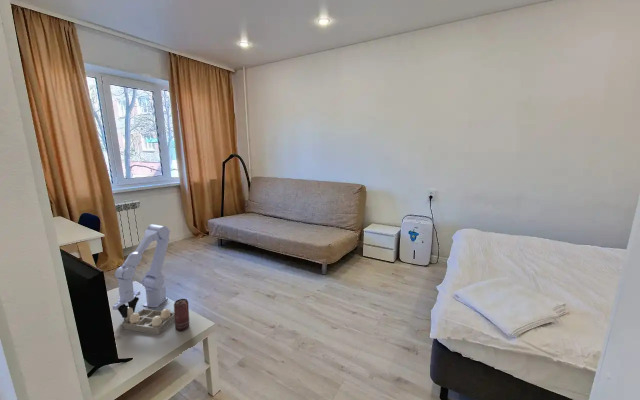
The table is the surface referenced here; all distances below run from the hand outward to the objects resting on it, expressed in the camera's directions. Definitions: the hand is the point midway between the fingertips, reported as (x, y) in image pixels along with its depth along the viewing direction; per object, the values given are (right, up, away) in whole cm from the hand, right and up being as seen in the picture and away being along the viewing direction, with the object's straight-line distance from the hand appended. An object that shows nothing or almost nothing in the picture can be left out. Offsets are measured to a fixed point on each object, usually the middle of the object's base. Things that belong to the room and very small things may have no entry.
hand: (128, 314), depth 136 cm
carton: (+13, -3, -3) cm, 14 cm away
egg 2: (+7, -2, -6) cm, 10 cm away
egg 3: (+19, -3, -7) cm, 21 cm away
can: (+30, -4, -5) cm, 31 cm away
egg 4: (+20, -2, -1) cm, 20 cm away
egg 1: (0, -2, 0) cm, 2 cm away
